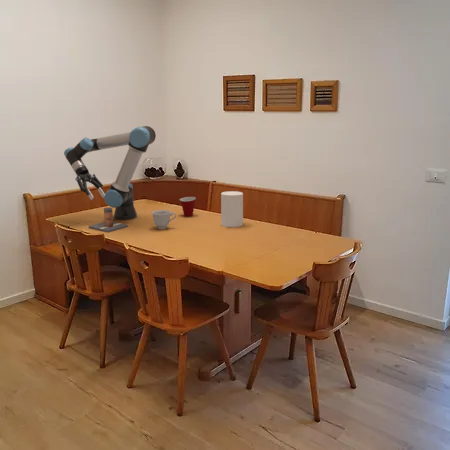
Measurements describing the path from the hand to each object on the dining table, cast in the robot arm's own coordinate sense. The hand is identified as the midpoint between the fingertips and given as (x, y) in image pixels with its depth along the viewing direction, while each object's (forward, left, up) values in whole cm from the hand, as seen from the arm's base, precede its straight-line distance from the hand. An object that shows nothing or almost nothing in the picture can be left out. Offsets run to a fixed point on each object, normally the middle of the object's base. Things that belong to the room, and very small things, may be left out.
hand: (98, 197), depth 299 cm
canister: (-51, +65, -18) cm, 84 cm away
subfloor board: (-1, +7, -18) cm, 19 cm away
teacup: (-20, +36, -18) cm, 45 cm away
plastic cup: (-53, +27, -18) cm, 62 cm away
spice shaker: (0, +8, -17) cm, 19 cm away
